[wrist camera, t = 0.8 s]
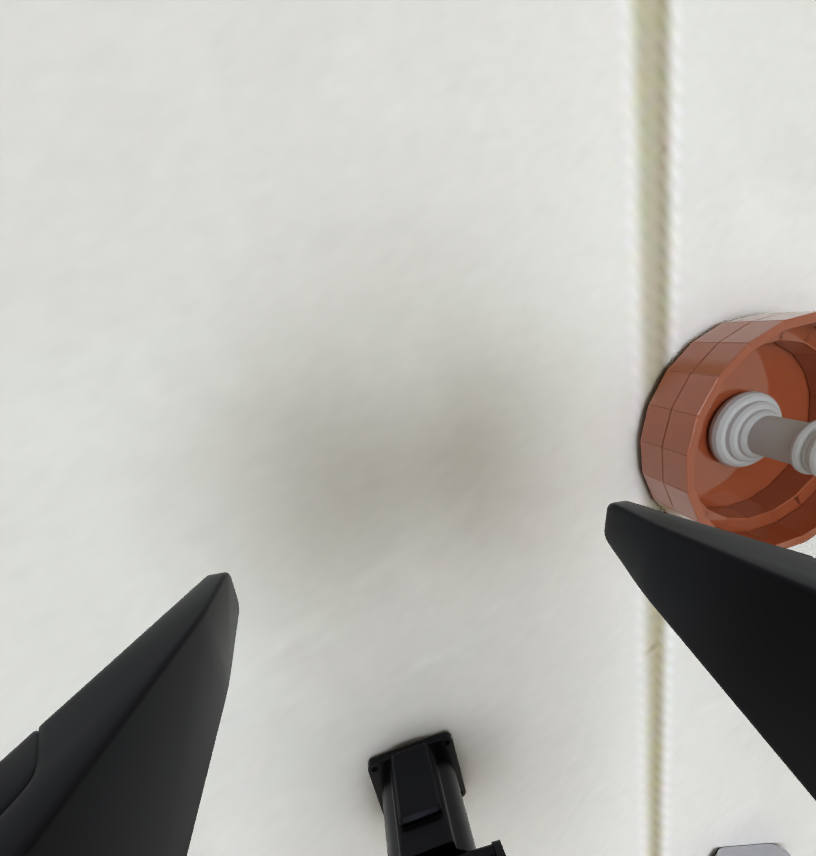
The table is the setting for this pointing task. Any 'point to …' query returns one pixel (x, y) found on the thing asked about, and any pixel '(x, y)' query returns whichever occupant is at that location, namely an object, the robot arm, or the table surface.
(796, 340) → the bowl
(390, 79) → the table surface
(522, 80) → the table surface
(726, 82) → the table surface
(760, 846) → the charger
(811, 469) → the chess piece
